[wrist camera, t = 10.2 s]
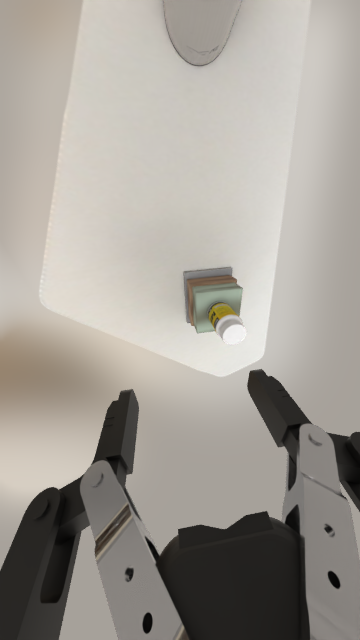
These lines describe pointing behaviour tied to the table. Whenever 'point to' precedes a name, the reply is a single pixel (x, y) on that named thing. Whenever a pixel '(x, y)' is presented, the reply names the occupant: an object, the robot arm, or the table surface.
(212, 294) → the brick tower
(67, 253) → the table surface
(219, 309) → the supplement bottle
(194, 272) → the baseplate
